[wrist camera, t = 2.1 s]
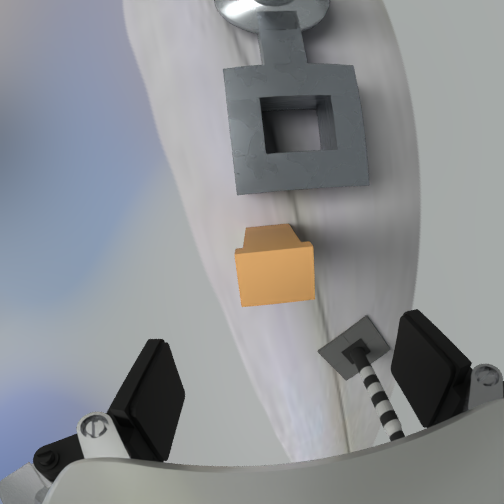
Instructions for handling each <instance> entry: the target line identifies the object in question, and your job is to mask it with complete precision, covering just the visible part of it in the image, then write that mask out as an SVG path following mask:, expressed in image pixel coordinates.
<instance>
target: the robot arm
mask: <svg viewBox="0 0 504 504" xmlns="http://www.w3.org/2000/svg"><path fill="white" fill-rule="evenodd" d="M471 364H472V363H471V361H470V360H469V359H468V358H467V357H466V356H465V355H464V354H463V353H462V352H461V351H460V350H459V349H458V348H457V347H456V346H455V345H454V344H453V343H452V342H451V341H450V340H449V339H448V338H447V337H446V336H445V335H444V334H443V333H442V332H441V331H440V330H439V329H438V328H437V327H436V326H435V325H434V324H433V323H432V322H431V321H430V320H429V319H428V318H426V317H425V316H424V315H423V314H422V313H421V312H420V311H419V310H418V309H416V310H411V311H407V312H405V313H404V314H403V316H402V317H401V318H400V323H399V329H398V334H397V340H396V345H395V350H394V355H393V359H392V364H391V372H392V375H393V376H394V378H395V380H396V381H397V383H398V385H399V386H400V388H401V390H402V391H403V393H404V395H405V396H406V398H407V400H408V402H409V403H410V405H411V407H412V408H413V410H414V412H415V414H416V415H417V417H418V419H419V420H420V423H421V424H422V425H423V427H427V429H424V430H422V431H419V432H417V433H414V434H411V435H409V436H406V437H403V438H400V439H397V440H394V441H391V442H388V443H385V444H381V445H378V446H375V447H371V448H367V449H363V450H360V451H356V452H351V453H347V454H343V455H338V456H333V457H328V458H322V459H316V460H310V461H303V462H296V463H287V464H277V465H264V466H242V467H241V466H236V467H235V466H234V467H227V466H226V467H225V466H224V467H223V466H198V465H182V464H172V463H163V461H167V460H168V457H169V454H170V450H171V446H172V442H173V439H174V435H175V431H176V427H177V424H178V420H179V417H180V413H181V410H182V406H183V402H184V399H185V391H184V388H183V385H182V382H181V380H180V377H179V374H178V371H177V368H176V365H175V362H174V359H173V356H172V353H171V350H170V346H169V344H168V343H165V342H164V340H163V339H149V340H148V341H147V343H146V344H145V346H144V348H143V349H142V351H141V353H140V355H139V356H138V358H137V360H136V361H135V363H134V365H133V367H132V368H131V370H130V372H129V373H128V375H127V377H126V379H125V381H124V382H123V384H122V386H121V388H120V389H119V391H118V393H117V395H116V397H115V398H114V400H113V402H112V404H111V406H110V408H109V410H108V411H107V413H103V412H92V413H89V414H87V415H85V416H84V417H83V418H81V419H80V421H79V422H78V425H77V434H74V435H72V436H69V437H67V438H64V439H62V440H59V441H56V442H54V443H51V444H48V445H45V446H43V447H41V448H39V449H38V450H37V451H36V453H35V454H34V458H33V464H30V462H28V463H27V464H25V465H24V466H22V467H21V468H19V469H18V470H16V471H15V472H13V473H12V474H10V475H9V476H7V477H6V478H4V479H3V480H1V481H0V498H1V500H2V502H3V504H504V381H503V377H502V373H501V372H500V370H499V369H498V368H497V367H495V366H493V365H490V364H480V365H478V366H476V367H474V369H472V368H471V367H470V366H471Z"/></svg>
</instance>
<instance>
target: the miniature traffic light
mask: <svg viewBox="0 0 504 504" xmlns="http://www.w3.org/2000/svg"><path fill="white" fill-rule="evenodd" d="M342 334H343V335H342ZM342 334H341V335H339V336H338V337H337V338H335V339H334V340H332V341H331V342H330V343H328V344H327V345H325V346H324V347H323V348H321V349H320V350H318V353H319V354H320V355H321V356H322V357H323V358H324V359H325V360H326V361H327V362H328V363H329V364H330V365H331V366H332V367H333V368H334V369H335V370H336V371H337V372H338V373H339V374H340V375H341V376H342V377H343V378H344V379H345V380H348V379H350V378H351V377H353V376H354V375H356V374H357V373H358V372H359V374H360V376H361V378H362V380H363V382H364V384H365V387H366V389H367V391H368V393H369V395H370V398H371V400H372V402H373V404H374V407H375V409H376V411H377V414H378V416H379V418H380V421H381V423H382V425H383V428H384V430H385V432H386V434H387V435H388V436H389V437H390V440H391V441H394V440H397V439H400V438H403V437H405V435H404V433H403V431H402V428H401V423H400V421H399V419H398V417H397V415H396V413H395V411H394V409H393V407H392V405H391V403H390V401H389V399H388V397H387V395H386V393H385V391H384V389H383V387H382V385H381V383H380V381H379V379H378V378H377V376H376V374H375V372H374V370H373V368H372V366H371V363H373V362H374V361H375V360H377V359H378V358H380V357H381V356H382V355H384V354H385V353H386V352H388V351H389V350H390V348H389V347H388V345H387V344H386V342H385V341H384V340H383V338H382V337H381V335H380V334H379V332H378V331H377V330H376V328H375V327H374V325H373V324H372V323H371V321H370V320H369V319H368V317H367V316H365V317H363V318H362V319H361V320H359V321H358V322H357V323H356V324H354V325H353V326H352V327H350V328H349V329H348V330H346V331H345V332H344V333H342Z"/></svg>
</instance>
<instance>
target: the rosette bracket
mask: <svg viewBox="0 0 504 504" xmlns="http://www.w3.org/2000/svg"><path fill="white" fill-rule="evenodd" d="M214 3H215V6H216V8H217V10H218V12H219V13H220V15H221V16H222V17H223V18H224V19H225V20H227V21H228V22H229V23H231V24H233V25H234V26H236V27H238V28H241V29H243V30H246V31H249V32H253V33H257V35H258V41H259V48H260V54H261V61H262V65H254V66H244V67H235V68H227V69H223V73H224V82H225V92H226V101H227V110H228V119H229V129H230V138H231V147H232V155H233V164H234V173H235V182H236V190H237V195H244V194H254V193H263V192H274V191H285V190H297V189H310V188H325V187H343V186H366V185H369V174H368V161H367V150H366V141H365V132H364V124H363V117H362V110H361V103H360V97H359V91H358V86H357V81H356V75H355V71H354V66H353V65H340V64H317V63H307V58H306V53H305V48H304V43H303V38H302V33H301V32H303V31H305V30H308V29H310V28H312V27H314V26H315V25H316V24H318V23H319V22H320V21H321V20H322V19H323V17H324V16H325V14H326V12H327V10H328V7H329V4H330V0H214ZM295 109H316V110H317V117H318V125H319V133H320V142H321V151H300V152H285V153H272V154H266V150H265V141H264V132H263V124H262V116H261V112H263V111H276V110H295Z"/></svg>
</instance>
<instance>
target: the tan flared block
mask: <svg viewBox="0 0 504 504" xmlns="http://www.w3.org/2000/svg"><path fill="white" fill-rule="evenodd" d="M235 262H236V269H237V277H238V284H239V291H240V298H241V305H242V307H247V306H258V305H268V304H278V303H287V302H296V301H304V300H313V299H315V282H314V252H313V245H312V244H311V243H310V241H308V242H300V240H299V239H298V237H297V236H296V234H295V233H294V231H293V230H292V228H291V227H290V225H289V224H280V225H269V226H260V227H250V228H246V230H245V238H244V245H243V248H239V249H236V250H235Z"/></svg>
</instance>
